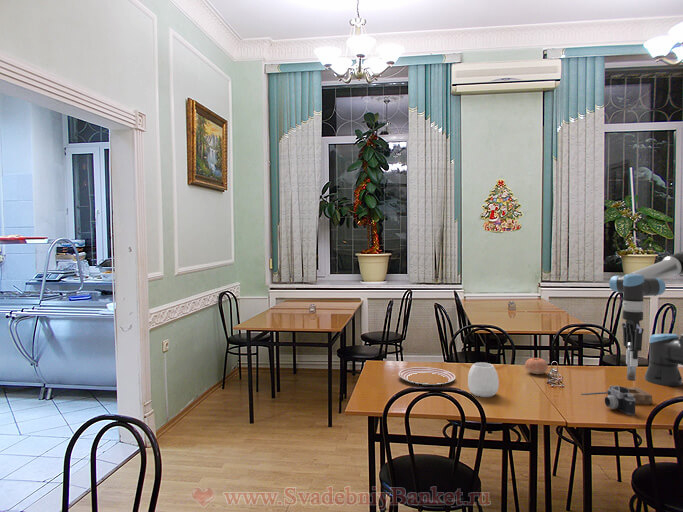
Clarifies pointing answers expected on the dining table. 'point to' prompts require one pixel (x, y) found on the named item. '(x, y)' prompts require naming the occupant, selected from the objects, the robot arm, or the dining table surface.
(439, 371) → the dinner plate
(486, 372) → the cup
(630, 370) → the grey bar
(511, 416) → the dining table surface
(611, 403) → the camera
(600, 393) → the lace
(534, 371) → the tomato
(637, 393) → the brown square tray
